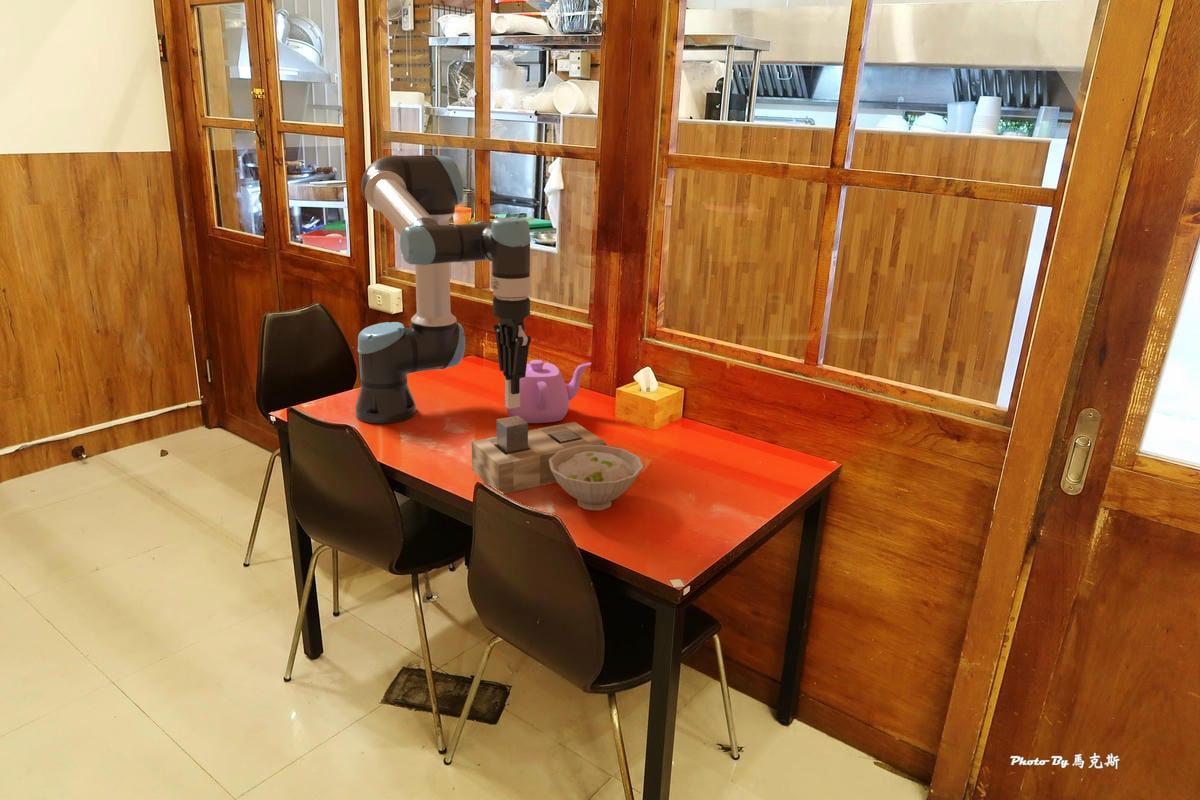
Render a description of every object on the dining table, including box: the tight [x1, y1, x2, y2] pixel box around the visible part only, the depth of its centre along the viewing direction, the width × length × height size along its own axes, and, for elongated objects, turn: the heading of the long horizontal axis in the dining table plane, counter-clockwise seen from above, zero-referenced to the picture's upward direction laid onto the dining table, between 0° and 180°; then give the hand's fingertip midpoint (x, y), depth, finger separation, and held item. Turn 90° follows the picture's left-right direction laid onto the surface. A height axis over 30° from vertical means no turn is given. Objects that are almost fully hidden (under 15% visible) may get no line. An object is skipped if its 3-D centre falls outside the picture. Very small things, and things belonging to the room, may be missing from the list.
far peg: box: [550, 430, 580, 444], centre depth 179 cm, size 5×5×6 cm
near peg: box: [496, 416, 529, 455], centre depth 171 cm, size 5×5×6 cm
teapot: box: [505, 359, 592, 424], centre depth 206 cm, size 23×21×15 cm
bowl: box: [549, 445, 644, 511], centre depth 162 cm, size 19×19×10 cm
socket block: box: [471, 421, 607, 495], centre depth 176 cm, size 14×26×7 cm, turn 121°
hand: (512, 406), depth 169 cm, fingers closed
